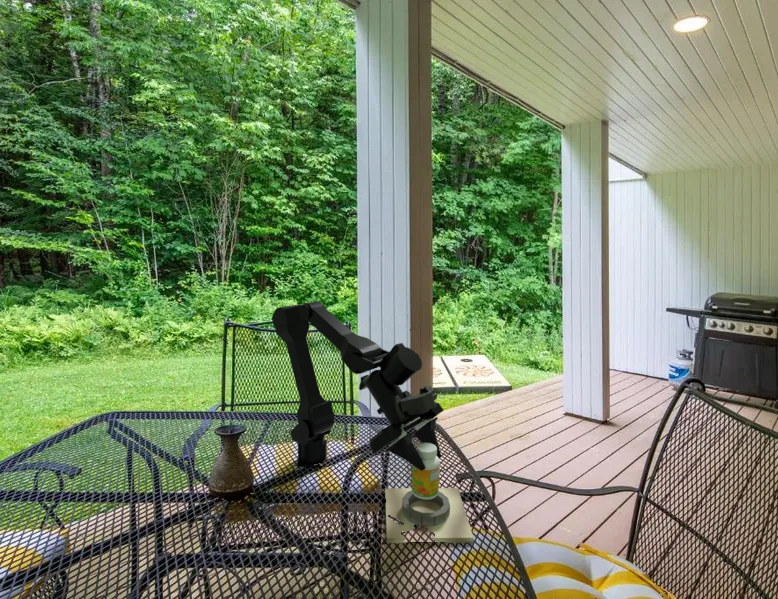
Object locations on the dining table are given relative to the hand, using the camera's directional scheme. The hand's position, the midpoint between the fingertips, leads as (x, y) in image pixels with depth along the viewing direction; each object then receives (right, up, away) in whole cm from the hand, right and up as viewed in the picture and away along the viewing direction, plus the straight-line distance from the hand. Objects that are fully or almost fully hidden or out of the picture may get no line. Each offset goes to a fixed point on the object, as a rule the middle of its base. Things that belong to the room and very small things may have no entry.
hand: (431, 463), depth 88 cm
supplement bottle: (-1, -7, +2) cm, 7 cm away
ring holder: (-1, -11, +3) cm, 12 cm away
